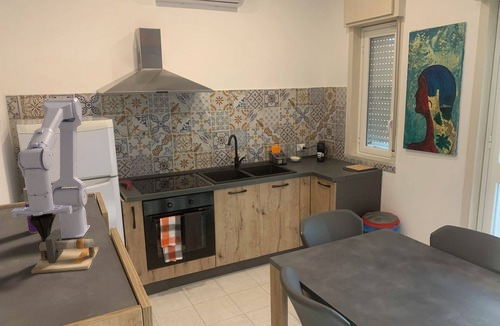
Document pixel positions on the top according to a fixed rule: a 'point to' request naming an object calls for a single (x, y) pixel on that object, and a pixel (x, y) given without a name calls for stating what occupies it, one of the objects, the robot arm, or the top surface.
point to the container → (30, 226)
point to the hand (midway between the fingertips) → (46, 239)
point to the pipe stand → (67, 256)
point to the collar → (53, 246)
